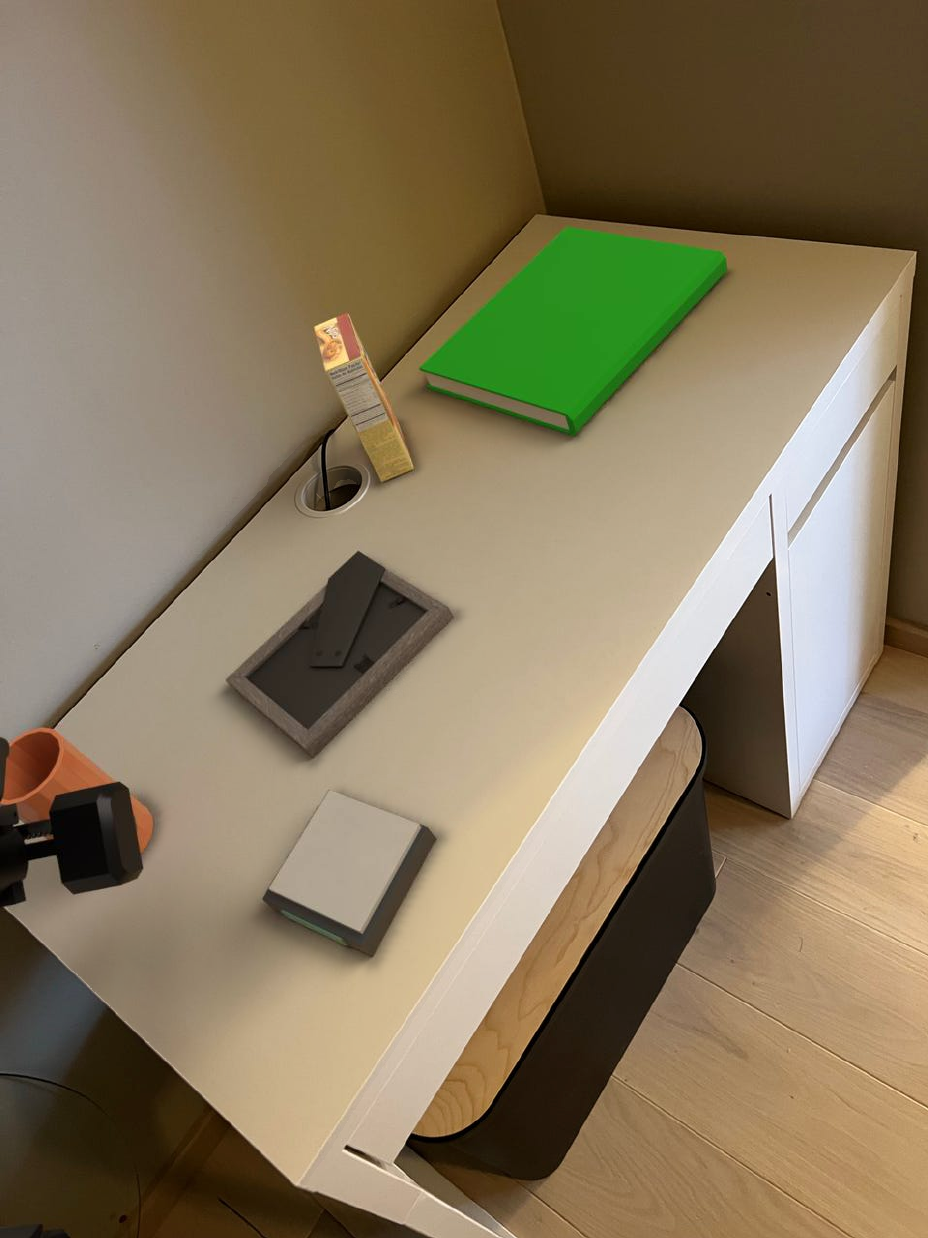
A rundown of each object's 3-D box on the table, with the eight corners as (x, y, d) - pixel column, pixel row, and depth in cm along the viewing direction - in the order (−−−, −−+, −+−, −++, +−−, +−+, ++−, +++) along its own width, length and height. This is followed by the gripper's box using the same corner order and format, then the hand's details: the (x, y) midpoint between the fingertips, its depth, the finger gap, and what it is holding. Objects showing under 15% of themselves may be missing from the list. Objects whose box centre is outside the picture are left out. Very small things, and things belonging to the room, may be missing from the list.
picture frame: (365, 563, 97) (233, 689, 92) (358, 550, 96) (223, 677, 91) (453, 617, 89) (313, 758, 84) (446, 603, 88) (303, 746, 82)
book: (427, 388, 112) (418, 367, 110) (572, 247, 121) (566, 226, 119) (577, 437, 99) (571, 415, 97) (728, 275, 108) (725, 251, 106)
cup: (109, 888, 82) (10, 819, 73) (71, 849, 86) (-28, 778, 77) (167, 826, 84) (78, 751, 75) (127, 790, 88) (38, 714, 79)
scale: (371, 959, 71) (357, 947, 69) (271, 911, 76) (256, 898, 74) (436, 838, 75) (425, 823, 73) (338, 800, 80) (325, 785, 78)
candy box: (367, 437, 110) (310, 326, 99) (401, 423, 110) (347, 309, 99) (381, 484, 104) (322, 371, 93) (417, 468, 104) (362, 354, 93)
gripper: (26, 708, 53) (172, 697, 68) (-245, 774, 57) (-50, 751, 72) (62, 910, 52) (202, 854, 67) (-217, 964, 56) (-25, 899, 71)
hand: (78, 835), depth 70 cm, fingers open, 9 cm apart
